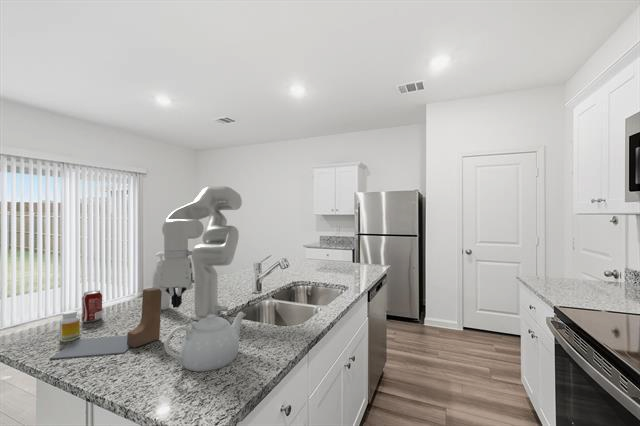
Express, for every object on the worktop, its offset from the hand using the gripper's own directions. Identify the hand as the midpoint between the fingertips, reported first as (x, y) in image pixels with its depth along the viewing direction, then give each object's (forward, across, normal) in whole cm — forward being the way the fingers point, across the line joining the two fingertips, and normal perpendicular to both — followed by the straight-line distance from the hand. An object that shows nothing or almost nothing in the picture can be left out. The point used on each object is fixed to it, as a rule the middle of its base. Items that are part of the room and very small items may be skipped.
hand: (176, 306), depth 103 cm
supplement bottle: (+12, +39, -9) cm, 42 cm away
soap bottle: (+12, +18, -40) cm, 46 cm away
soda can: (+12, +42, -28) cm, 52 cm away
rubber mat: (+12, +24, 0) cm, 27 cm away
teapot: (+12, -14, +16) cm, 25 cm away
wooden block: (+12, +11, 0) cm, 16 cm away
